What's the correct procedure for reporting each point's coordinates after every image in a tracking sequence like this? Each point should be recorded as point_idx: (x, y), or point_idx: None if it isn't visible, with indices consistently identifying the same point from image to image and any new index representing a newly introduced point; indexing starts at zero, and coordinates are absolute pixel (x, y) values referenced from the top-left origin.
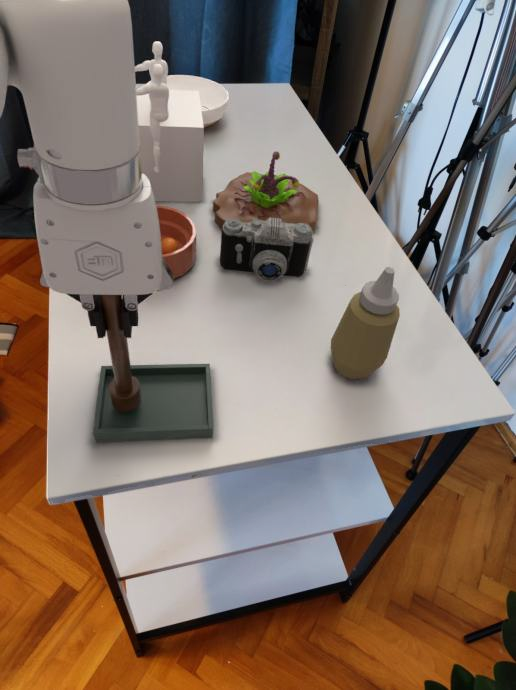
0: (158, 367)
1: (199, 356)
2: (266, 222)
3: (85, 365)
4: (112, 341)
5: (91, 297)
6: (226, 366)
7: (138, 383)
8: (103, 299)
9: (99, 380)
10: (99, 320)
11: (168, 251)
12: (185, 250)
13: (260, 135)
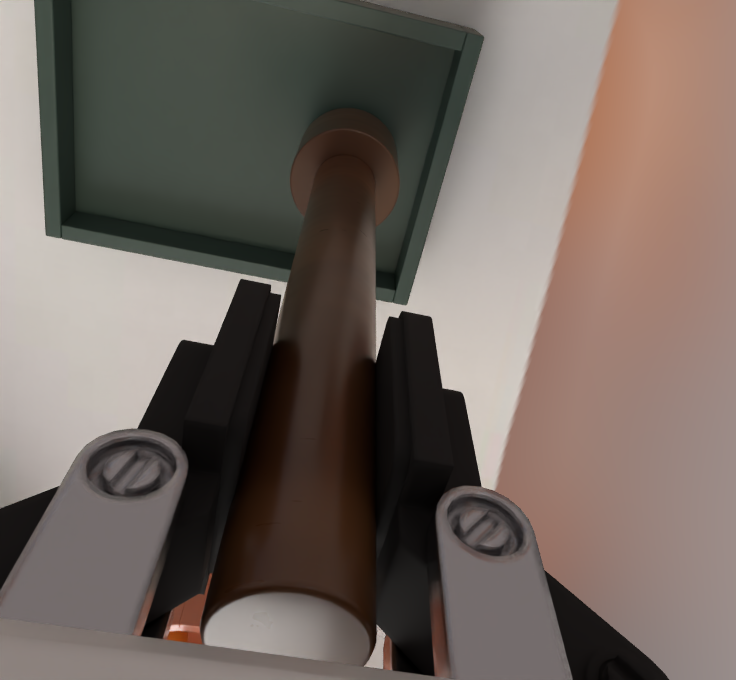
0: (225, 259)
1: (99, 285)
2: None
3: (448, 327)
4: (354, 298)
5: (459, 606)
6: (6, 227)
7: (293, 185)
8: (357, 562)
9: (421, 252)
10: (412, 403)
11: None
12: None
13: None
